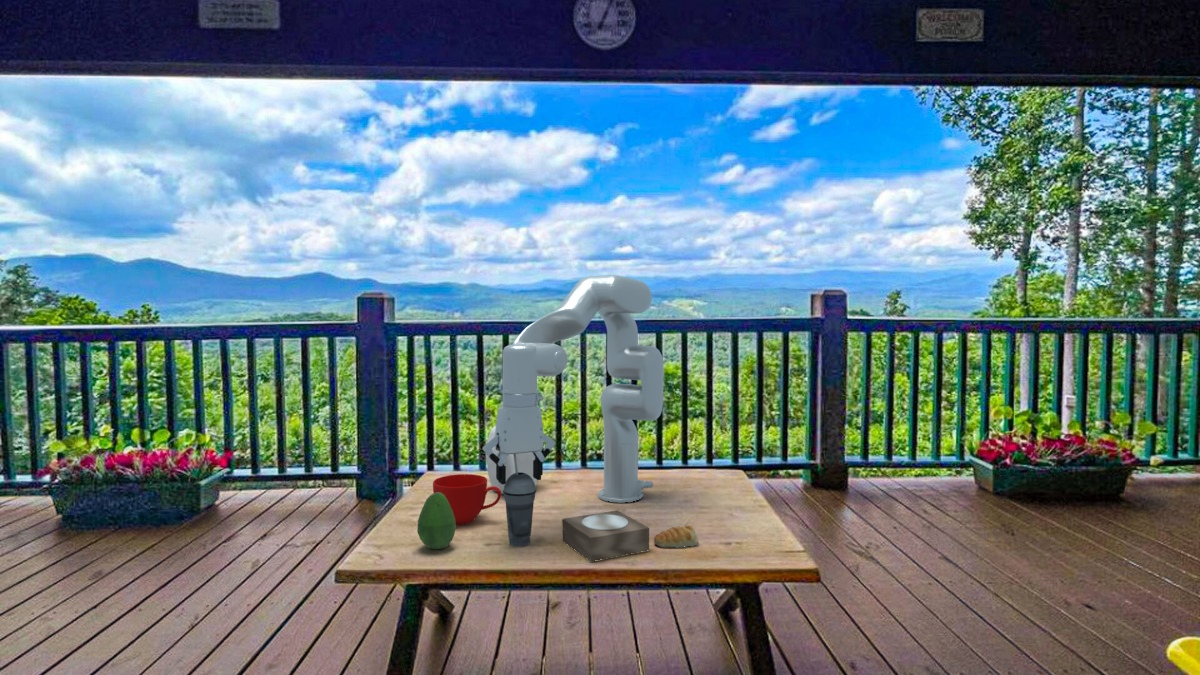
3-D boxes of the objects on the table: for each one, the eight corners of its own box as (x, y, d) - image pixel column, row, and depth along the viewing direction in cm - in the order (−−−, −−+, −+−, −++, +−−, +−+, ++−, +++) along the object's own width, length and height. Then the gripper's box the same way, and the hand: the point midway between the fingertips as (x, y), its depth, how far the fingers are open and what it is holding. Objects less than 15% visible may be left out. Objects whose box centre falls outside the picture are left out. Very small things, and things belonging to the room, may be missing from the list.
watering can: (471, 503, 169) (471, 433, 168) (500, 479, 195) (500, 418, 195) (527, 506, 167) (527, 435, 166) (549, 481, 193) (549, 419, 193)
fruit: (444, 539, 141) (444, 486, 140) (462, 548, 135) (462, 493, 135) (411, 547, 135) (410, 492, 135) (428, 558, 130) (428, 500, 129)
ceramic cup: (491, 532, 146) (491, 489, 145) (423, 527, 149) (423, 485, 148) (509, 515, 158) (509, 476, 158) (446, 511, 161) (446, 472, 161)
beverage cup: (530, 550, 134) (530, 457, 134) (497, 547, 136) (498, 455, 135) (540, 538, 141) (540, 450, 141) (509, 536, 143) (509, 448, 142)
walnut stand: (617, 531, 146) (617, 508, 146) (649, 551, 134) (649, 526, 134) (562, 541, 140) (562, 516, 140) (590, 562, 128) (590, 536, 127)
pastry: (662, 552, 134) (662, 534, 134) (648, 542, 140) (648, 525, 140) (700, 547, 137) (700, 529, 137) (685, 537, 144) (685, 520, 144)
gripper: (549, 397, 145) (549, 473, 146) (476, 401, 137) (476, 481, 138) (563, 400, 138) (562, 480, 139) (486, 405, 130) (486, 489, 131)
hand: (519, 480), depth 138 cm, fingers open, 7 cm apart
